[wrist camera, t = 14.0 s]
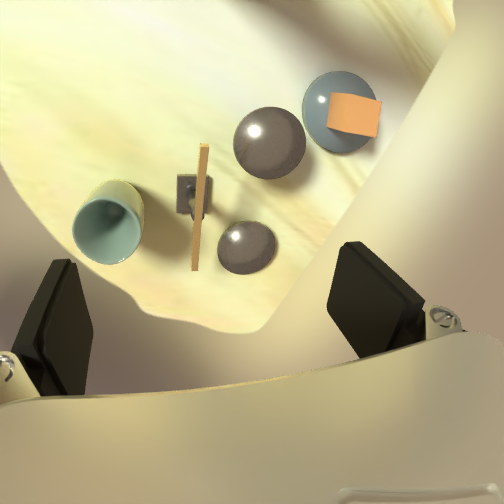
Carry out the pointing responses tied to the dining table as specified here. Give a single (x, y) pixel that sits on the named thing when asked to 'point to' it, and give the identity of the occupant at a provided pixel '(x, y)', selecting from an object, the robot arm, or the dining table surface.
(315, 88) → the dish
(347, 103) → the block
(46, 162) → the dining table surface
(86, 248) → the cup
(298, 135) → the balance
